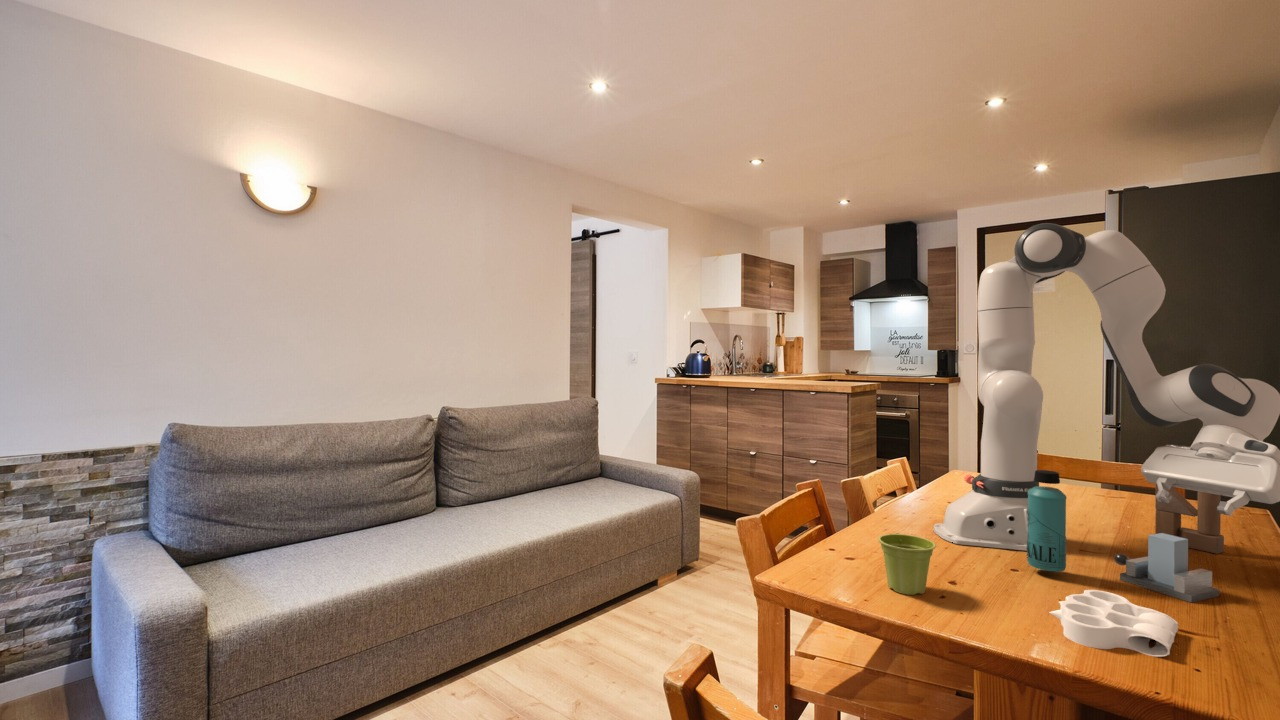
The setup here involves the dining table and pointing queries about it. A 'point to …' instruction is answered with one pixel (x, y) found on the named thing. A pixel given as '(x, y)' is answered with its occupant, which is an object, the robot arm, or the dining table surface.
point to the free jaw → (1133, 565)
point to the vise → (1180, 585)
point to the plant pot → (906, 562)
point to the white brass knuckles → (1115, 623)
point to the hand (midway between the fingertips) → (1191, 506)
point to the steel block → (1166, 557)
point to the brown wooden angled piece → (1207, 515)
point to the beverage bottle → (1046, 524)
